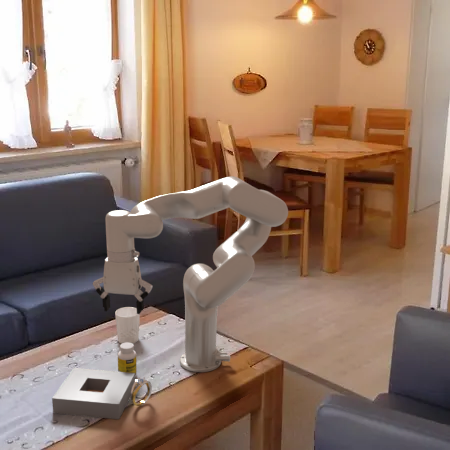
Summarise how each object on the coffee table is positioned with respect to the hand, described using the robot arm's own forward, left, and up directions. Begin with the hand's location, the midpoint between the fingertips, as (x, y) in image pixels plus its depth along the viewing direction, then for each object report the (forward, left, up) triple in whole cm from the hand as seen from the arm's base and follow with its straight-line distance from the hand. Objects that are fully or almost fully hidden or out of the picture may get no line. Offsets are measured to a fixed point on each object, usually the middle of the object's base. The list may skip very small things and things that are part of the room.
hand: (123, 310), depth 181 cm
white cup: (+5, -21, -21) cm, 30 cm away
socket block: (+4, +15, -20) cm, 25 cm away
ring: (-9, +15, -21) cm, 27 cm away
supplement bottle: (-1, +1, -21) cm, 21 cm away
